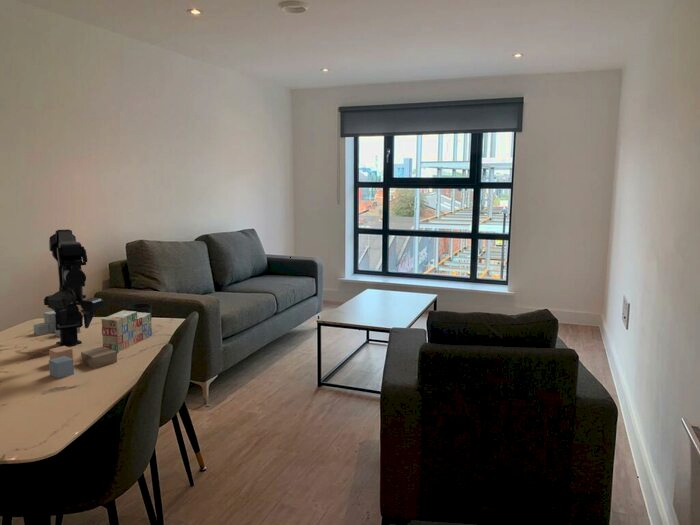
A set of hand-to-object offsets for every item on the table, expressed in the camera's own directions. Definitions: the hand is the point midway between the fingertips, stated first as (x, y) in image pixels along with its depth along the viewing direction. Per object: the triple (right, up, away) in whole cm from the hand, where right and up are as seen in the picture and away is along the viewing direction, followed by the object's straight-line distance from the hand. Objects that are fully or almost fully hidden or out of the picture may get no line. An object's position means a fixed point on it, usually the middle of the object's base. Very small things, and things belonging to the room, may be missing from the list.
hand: (74, 326), depth 173 cm
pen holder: (+5, -6, +40) cm, 41 cm away
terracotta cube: (-5, -12, +1) cm, 13 cm away
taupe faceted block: (+7, -13, +2) cm, 15 cm away
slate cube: (+1, -14, -9) cm, 17 cm away
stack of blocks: (+8, -9, +23) cm, 26 cm away
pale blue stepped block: (-24, -7, +32) cm, 41 cm away
